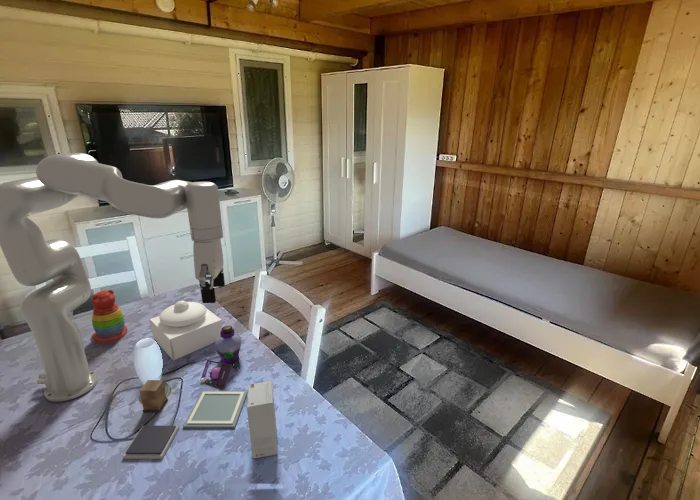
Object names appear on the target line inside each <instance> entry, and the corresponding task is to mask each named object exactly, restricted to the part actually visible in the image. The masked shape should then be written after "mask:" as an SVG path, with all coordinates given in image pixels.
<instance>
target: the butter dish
mask: <svg viewBox="0 0 700 500" xmlns="http://www.w3.org/2000/svg"><path fill="white" fill-rule="evenodd" d="M222 322H223V321H222V319H221V318H220V317H219V316H218V315H216V314H215V313H213V312H212V311H210V310H209V309H208V308H207V307H206V306H205V305H204V304H203V303H200V302H196V301H185V300H183V299H182V300H178V301H176V303H175V304H173V305H170V306H168V307H166V308H164V310H162V311H161V313H160V314H159V315H158V316H155V317H153V318H152V317H151V318H149V324H150V329H151V334H152V339H153V338H154V339H153V340H154V341H155V340H156V341H157V342H156V341H155V342H156V343H157V344H158V345H159V346H160V347H161V349H163V351H164V352H165V353H166V354H167V355H168V356H169V357H170V359H171V360H172V361H176V360H178V359H180V358H183V357H185V356H187V355H189V354H192V353H194V352H196V351H198V350H200V349H203V348H205V347H207V346H210V345H212V344H214V343H215V342H216V340H217V339H219V338H220V337H221V335H220V332H221V330H222V328H223V323H222Z"/></svg>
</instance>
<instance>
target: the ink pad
mask: <svg viewBox="0 0 700 500" xmlns="http://www.w3.org/2000/svg"><path fill="white" fill-rule="evenodd" d="M179 429H180V425H155V424H154V425H142V426H141V427H140V429H139V431H137V433H136V435H135V437H133V439H132V441H131V442H130V444H129V445H128V447H127V448H126V450H125V451H124V453H123V455H122V459H125V460H127V459H129V460H136V459H138V460H141V459H142V460H143V459H144V460H151V459H152V460H156V459H157V460H159V459H160V460H163V459H164V457H165V454H166V453H167V451H168V450H169V448H170V446H171V444H172V442H173V441H174V438H175V437H176V436H177V433H178V431H179Z"/></svg>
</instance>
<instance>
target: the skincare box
mask: <svg viewBox="0 0 700 500" xmlns="http://www.w3.org/2000/svg"><path fill="white" fill-rule="evenodd" d="M247 386H248V390H247V392H248V393H247V396H246V398H247V405H246V411H247V419H248V421H247V422H248V428H249V429H248V430H249V436H250V437H249V438H250V443H251V453H252V459H258V458H264V457H272V456H277V455H278V443H277V420H276V410H275V409H276V408H275V400H274V399H275V398H274V391H273V390H274V389H273V381H272V380H271V381H270V380H269V381H264V382H257V383H252V384H248V385H247Z"/></svg>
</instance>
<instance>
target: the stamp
mask: <svg viewBox="0 0 700 500" xmlns="http://www.w3.org/2000/svg"><path fill="white" fill-rule="evenodd" d="M139 394H140V400H141V404H142V412H143V414H144V413H145V414H146V413H151V414H152V413H156V414H157V413H161V412H162V411H163V409H164V408H165V407H166V405H167V403H168V400H169V399H168V397H167V393H166V387H165V381H164V380H163V379H150V380H149V379H148V380H146V382H145V383H144V384H143V386H141V388H140V390H139Z"/></svg>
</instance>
